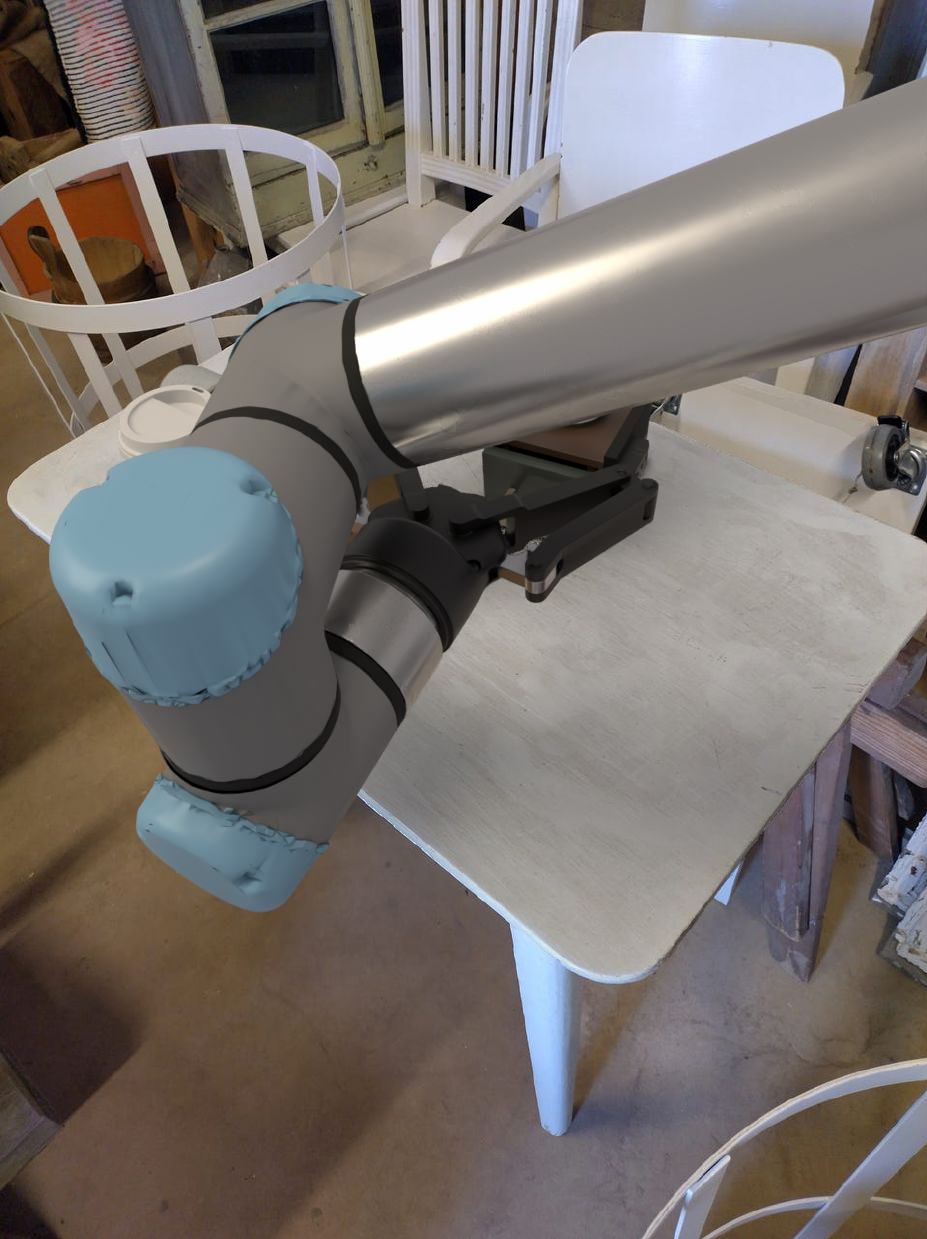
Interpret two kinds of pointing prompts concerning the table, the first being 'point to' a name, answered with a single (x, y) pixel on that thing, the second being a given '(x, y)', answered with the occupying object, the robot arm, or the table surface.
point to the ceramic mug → (192, 377)
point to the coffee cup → (160, 419)
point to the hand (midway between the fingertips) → (545, 389)
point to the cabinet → (577, 440)
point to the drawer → (524, 472)
